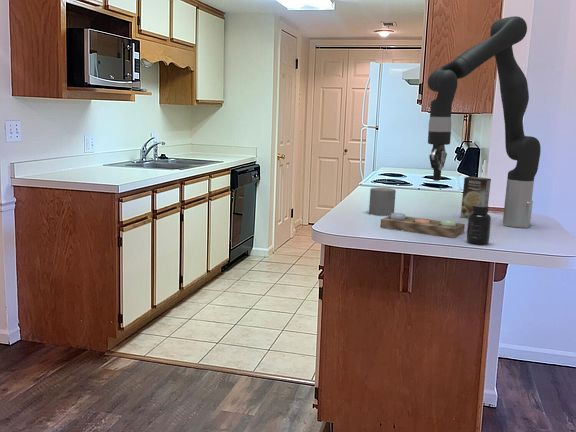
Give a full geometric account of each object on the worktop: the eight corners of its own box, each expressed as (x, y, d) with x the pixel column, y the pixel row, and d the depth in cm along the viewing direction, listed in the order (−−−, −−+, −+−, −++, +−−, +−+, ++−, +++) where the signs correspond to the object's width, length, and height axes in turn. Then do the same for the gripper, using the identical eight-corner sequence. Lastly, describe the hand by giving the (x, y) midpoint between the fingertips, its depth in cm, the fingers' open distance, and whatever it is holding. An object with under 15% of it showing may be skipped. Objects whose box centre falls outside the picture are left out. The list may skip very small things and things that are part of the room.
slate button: (406, 222, 207) (407, 214, 206) (401, 224, 202) (402, 215, 202) (393, 220, 209) (394, 212, 209) (388, 222, 205) (388, 214, 204)
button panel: (463, 232, 200) (464, 223, 199) (454, 238, 190) (454, 229, 189) (393, 222, 213) (393, 214, 213) (380, 227, 203) (380, 219, 202)
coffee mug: (396, 216, 227) (398, 191, 225) (371, 215, 227) (372, 190, 225) (389, 210, 240) (391, 186, 238) (365, 209, 240) (367, 186, 238)
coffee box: (459, 217, 230) (463, 177, 227) (464, 215, 235) (468, 176, 232) (482, 220, 225) (486, 179, 222) (487, 218, 230) (491, 178, 227)
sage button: (457, 229, 197) (457, 220, 197) (453, 231, 193) (453, 222, 193) (442, 227, 200) (443, 218, 199) (438, 229, 196) (439, 220, 195)
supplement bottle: (471, 239, 189) (474, 203, 187) (492, 243, 184) (495, 205, 182) (462, 242, 183) (466, 205, 181) (483, 246, 179) (487, 208, 177)
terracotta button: (431, 228, 202) (431, 220, 202) (426, 230, 198) (427, 222, 197) (417, 226, 205) (418, 218, 204) (412, 228, 200) (413, 220, 200)
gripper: (444, 131, 191) (441, 183, 194) (455, 130, 202) (452, 179, 205) (422, 130, 194) (420, 181, 198) (434, 129, 206) (432, 177, 209)
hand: (436, 180), depth 201 cm, fingers closed
